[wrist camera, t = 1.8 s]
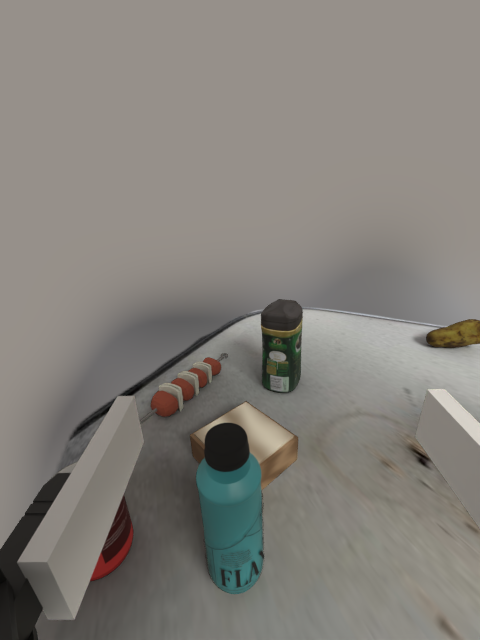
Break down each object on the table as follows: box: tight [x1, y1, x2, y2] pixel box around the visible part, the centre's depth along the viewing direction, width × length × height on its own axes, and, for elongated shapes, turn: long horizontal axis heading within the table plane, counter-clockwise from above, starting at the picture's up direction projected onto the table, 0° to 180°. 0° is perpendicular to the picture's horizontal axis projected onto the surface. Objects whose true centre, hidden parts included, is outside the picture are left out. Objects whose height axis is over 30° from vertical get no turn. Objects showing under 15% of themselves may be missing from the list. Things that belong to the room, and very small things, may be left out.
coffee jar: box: [261, 299, 303, 393], centre depth 64 cm, size 10×8×19 cm
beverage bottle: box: [196, 423, 264, 594], centre depth 31 cm, size 6×7×20 cm
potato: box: [426, 319, 480, 348], centre depth 77 cm, size 8×13×8 cm, turn 58°
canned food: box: [51, 462, 133, 581], centre depth 35 cm, size 8×8×11 cm
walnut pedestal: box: [190, 401, 298, 490], centre depth 48 cm, size 12×12×5 cm
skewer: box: [140, 353, 228, 424], centre depth 65 cm, size 5×5×30 cm
